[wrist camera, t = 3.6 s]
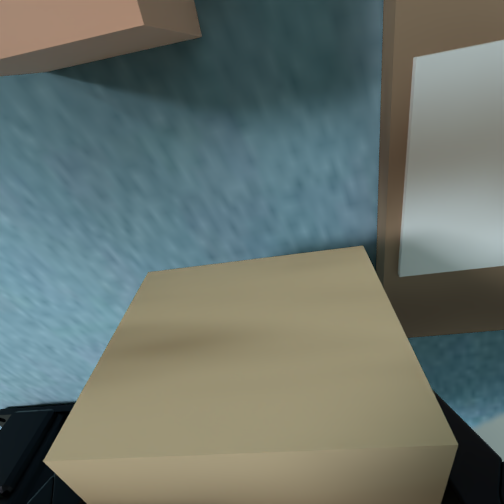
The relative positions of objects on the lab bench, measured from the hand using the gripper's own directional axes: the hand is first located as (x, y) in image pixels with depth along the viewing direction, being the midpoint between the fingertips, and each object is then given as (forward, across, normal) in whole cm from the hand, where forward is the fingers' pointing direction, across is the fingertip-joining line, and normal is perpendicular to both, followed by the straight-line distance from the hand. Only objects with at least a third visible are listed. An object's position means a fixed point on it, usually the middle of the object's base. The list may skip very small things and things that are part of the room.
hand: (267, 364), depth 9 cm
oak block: (+1, 0, 0) cm, 1 cm away
